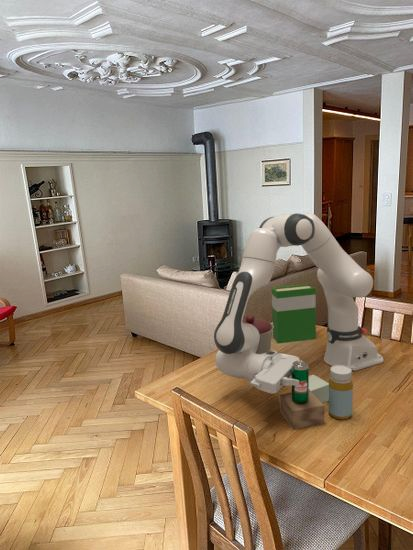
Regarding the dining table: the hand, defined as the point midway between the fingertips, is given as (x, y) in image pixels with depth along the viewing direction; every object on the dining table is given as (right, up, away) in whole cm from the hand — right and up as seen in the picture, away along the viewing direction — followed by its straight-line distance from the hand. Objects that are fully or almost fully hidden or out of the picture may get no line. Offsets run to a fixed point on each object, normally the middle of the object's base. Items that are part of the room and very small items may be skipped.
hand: (303, 378), depth 123 cm
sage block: (+6, -10, +14) cm, 19 cm away
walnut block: (0, -13, +4) cm, 14 cm away
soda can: (0, -7, +2) cm, 8 cm away
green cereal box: (+11, +2, +65) cm, 66 cm away
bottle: (+12, -12, +4) cm, 18 cm away
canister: (-11, -5, +41) cm, 42 cm away
